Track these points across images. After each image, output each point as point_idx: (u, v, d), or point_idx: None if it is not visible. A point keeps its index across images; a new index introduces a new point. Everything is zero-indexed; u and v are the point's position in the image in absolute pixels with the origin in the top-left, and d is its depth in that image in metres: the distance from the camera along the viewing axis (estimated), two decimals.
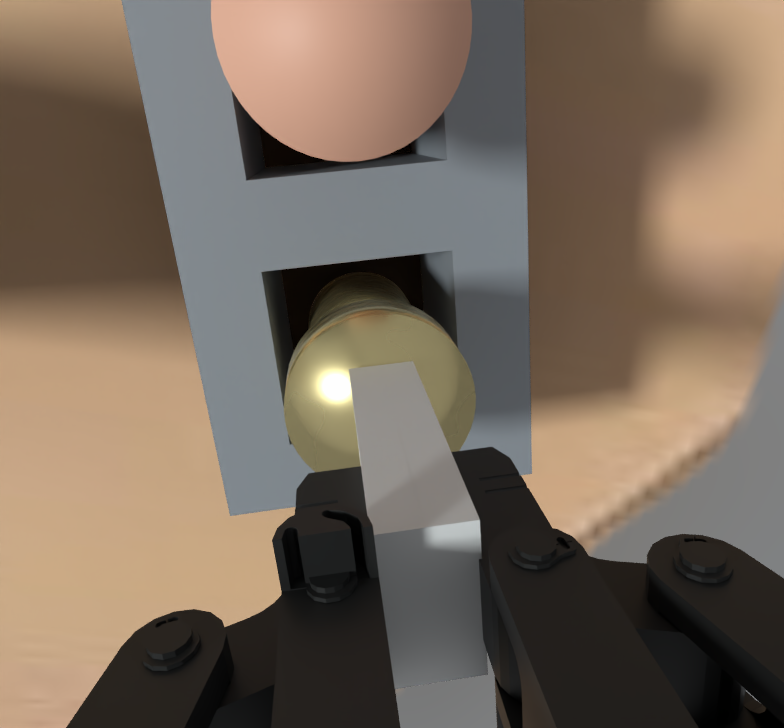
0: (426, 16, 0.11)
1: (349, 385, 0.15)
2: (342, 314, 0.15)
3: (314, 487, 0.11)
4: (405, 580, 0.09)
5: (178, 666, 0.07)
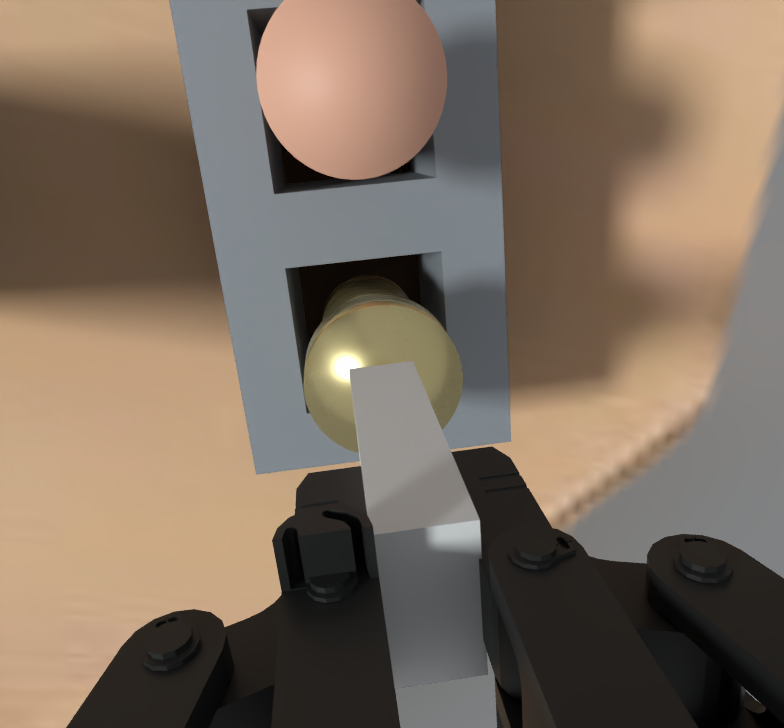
0: (413, 73, 0.15)
1: (357, 364, 0.18)
2: (352, 306, 0.18)
3: (313, 487, 0.11)
4: (404, 580, 0.09)
5: (178, 666, 0.07)
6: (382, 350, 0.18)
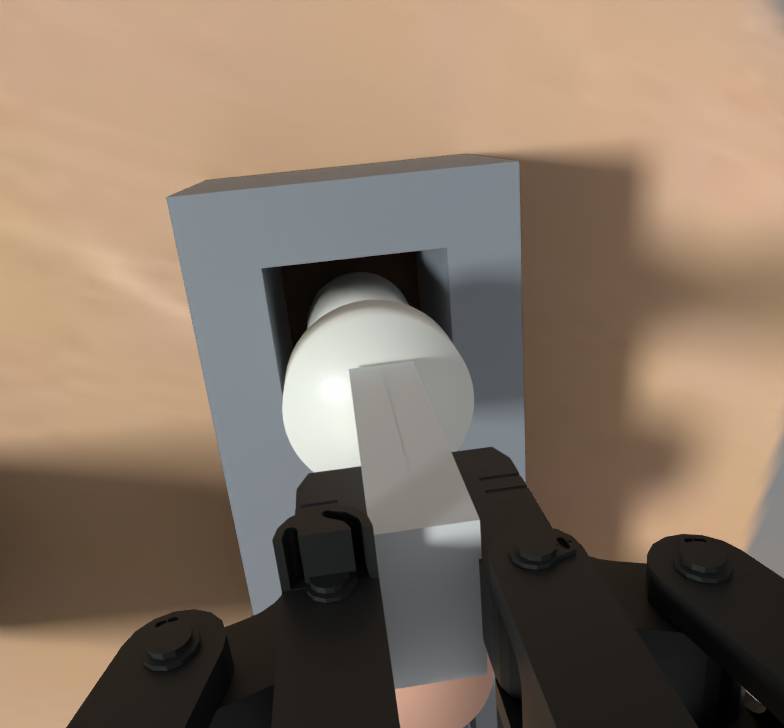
0: None
1: None
2: None
3: (313, 487, 0.11)
4: (405, 581, 0.09)
5: (178, 666, 0.07)
6: None
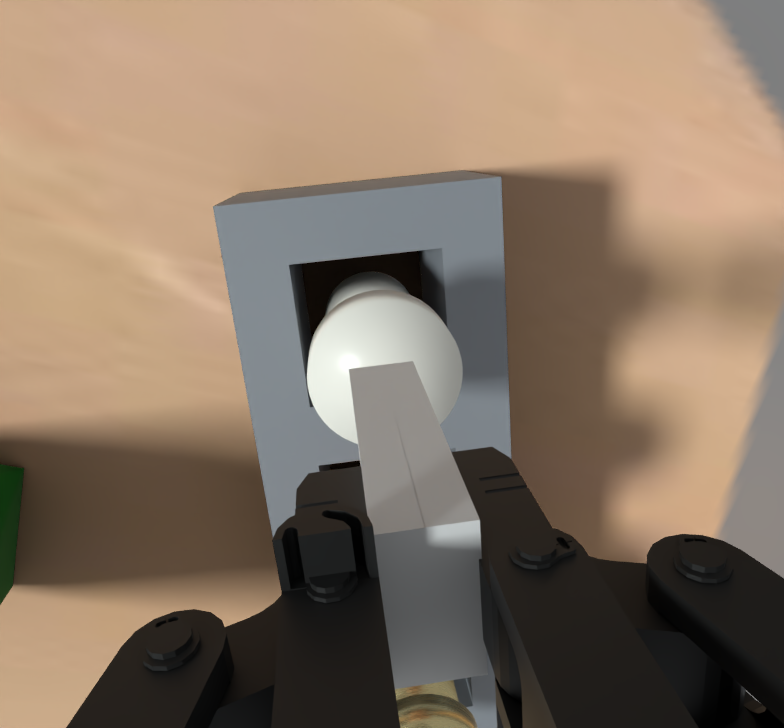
0: None
1: None
2: (402, 715, 0.24)
3: (314, 487, 0.11)
4: (404, 581, 0.09)
5: (178, 666, 0.07)
6: None
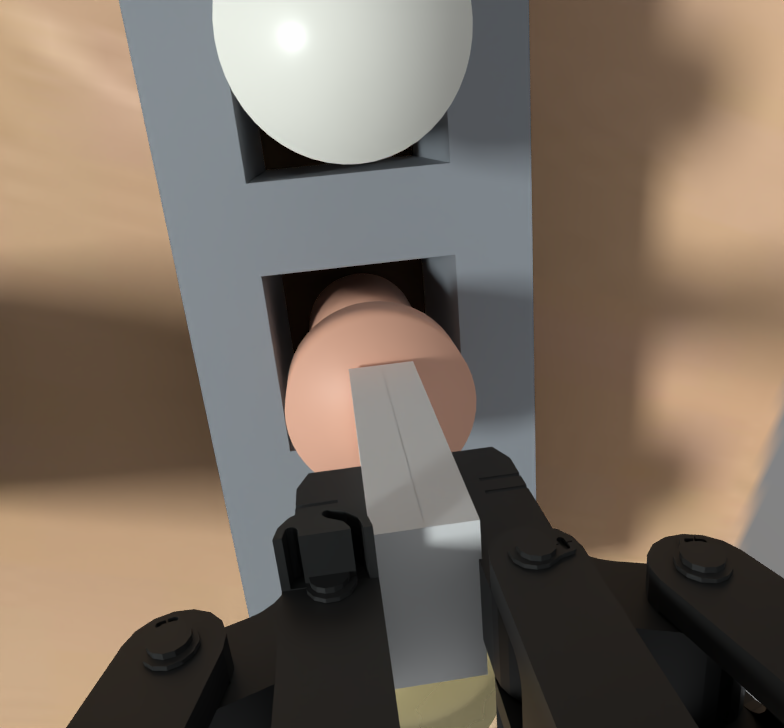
0: (442, 401, 0.15)
1: None
2: None
3: (314, 487, 0.11)
4: (405, 581, 0.09)
5: (178, 666, 0.07)
6: None
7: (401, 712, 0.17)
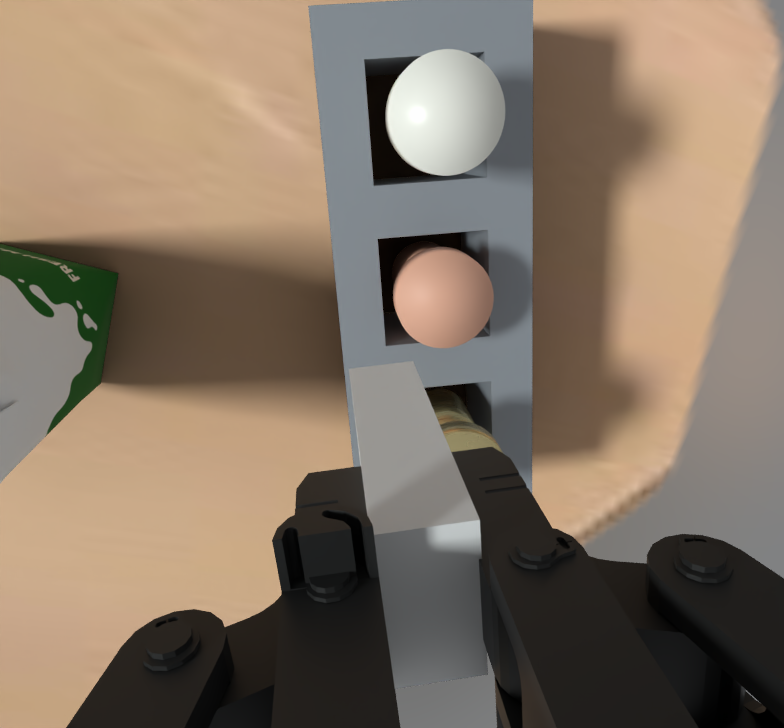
0: (476, 297, 0.30)
1: None
2: (443, 430, 0.30)
3: (313, 487, 0.11)
4: (404, 580, 0.09)
5: (178, 666, 0.07)
6: None
7: None
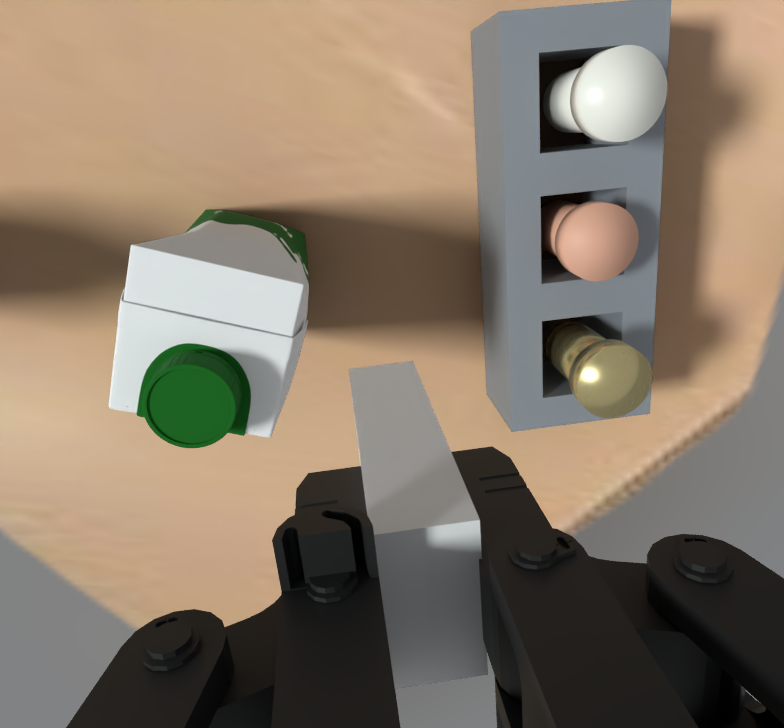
0: (625, 239, 0.38)
1: (604, 373, 0.38)
2: (600, 345, 0.38)
3: (314, 487, 0.11)
4: (404, 580, 0.09)
5: (178, 666, 0.07)
6: (616, 367, 0.38)
7: (608, 387, 0.38)
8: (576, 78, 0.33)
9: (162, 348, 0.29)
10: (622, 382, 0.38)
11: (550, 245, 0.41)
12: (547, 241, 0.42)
